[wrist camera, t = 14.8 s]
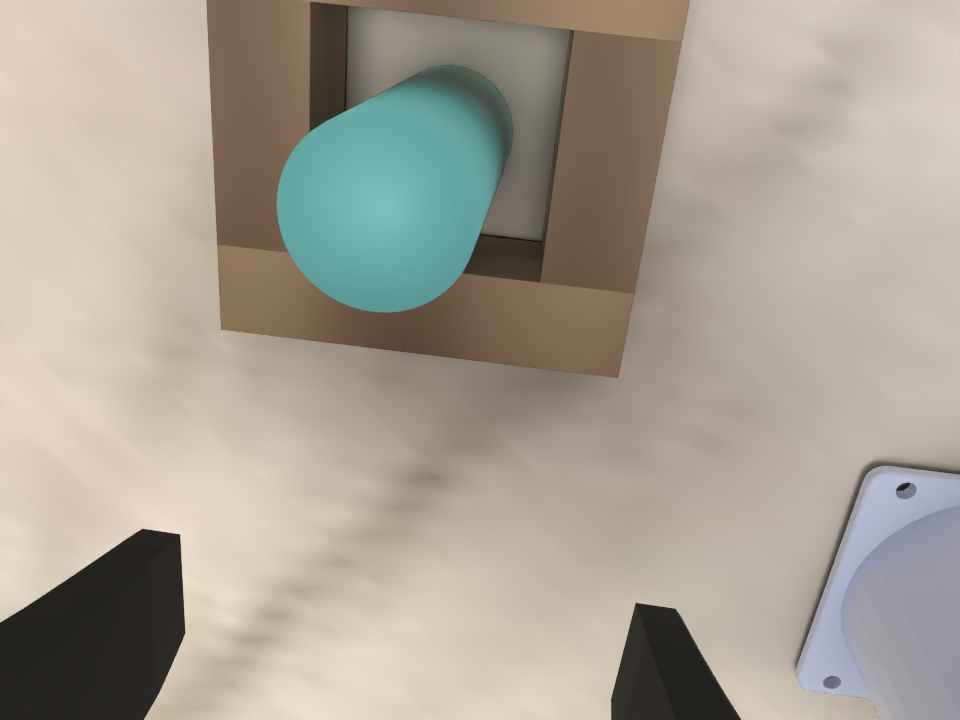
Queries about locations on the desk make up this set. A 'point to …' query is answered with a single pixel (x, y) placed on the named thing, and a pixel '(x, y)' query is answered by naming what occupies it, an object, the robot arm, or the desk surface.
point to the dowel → (396, 190)
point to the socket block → (494, 261)
